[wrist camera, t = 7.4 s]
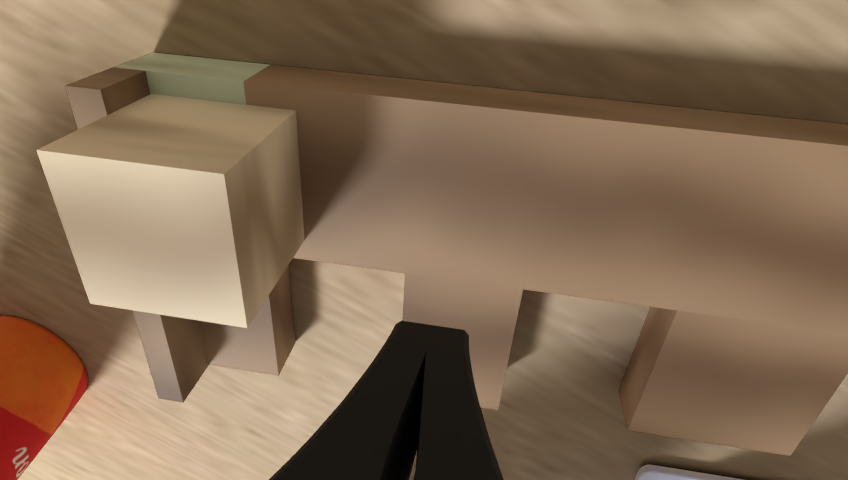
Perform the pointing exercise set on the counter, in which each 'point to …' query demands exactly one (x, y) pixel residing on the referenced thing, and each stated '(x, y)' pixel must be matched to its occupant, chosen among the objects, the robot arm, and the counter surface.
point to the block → (181, 205)
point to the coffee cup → (33, 390)
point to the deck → (550, 233)
